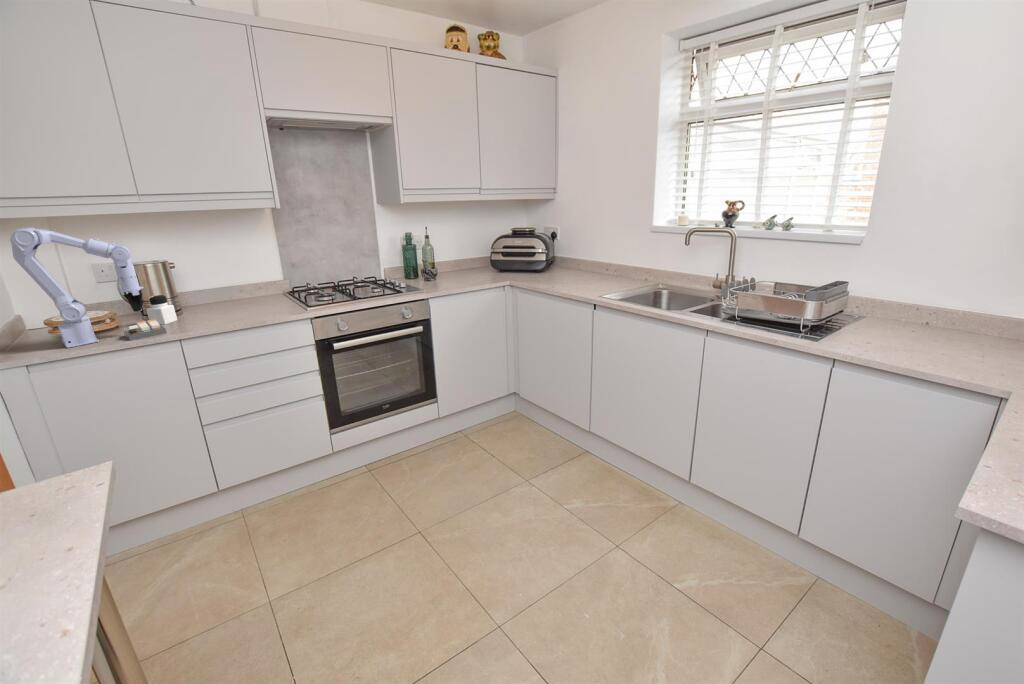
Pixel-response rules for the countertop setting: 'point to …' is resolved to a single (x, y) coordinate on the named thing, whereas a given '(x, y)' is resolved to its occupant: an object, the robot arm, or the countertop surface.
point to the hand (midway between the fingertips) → (137, 311)
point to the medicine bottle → (161, 310)
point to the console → (144, 333)
